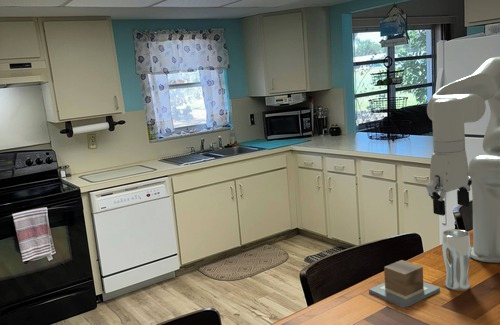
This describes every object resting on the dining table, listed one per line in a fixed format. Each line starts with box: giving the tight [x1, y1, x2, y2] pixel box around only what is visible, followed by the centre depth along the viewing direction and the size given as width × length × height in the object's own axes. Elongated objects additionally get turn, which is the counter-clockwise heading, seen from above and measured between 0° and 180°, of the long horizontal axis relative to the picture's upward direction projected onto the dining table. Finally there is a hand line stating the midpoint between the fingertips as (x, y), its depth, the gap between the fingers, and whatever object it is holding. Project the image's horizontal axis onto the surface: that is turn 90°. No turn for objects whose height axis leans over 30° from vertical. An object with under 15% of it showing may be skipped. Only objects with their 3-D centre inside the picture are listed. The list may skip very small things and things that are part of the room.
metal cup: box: [441, 228, 472, 292], centre depth 125 cm, size 7×7×15 cm
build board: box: [368, 281, 441, 309], centre depth 125 cm, size 14×12×1 cm
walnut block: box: [383, 259, 424, 296], centre depth 125 cm, size 7×7×6 cm
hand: (451, 209), depth 123 cm, fingers open, 9 cm apart
